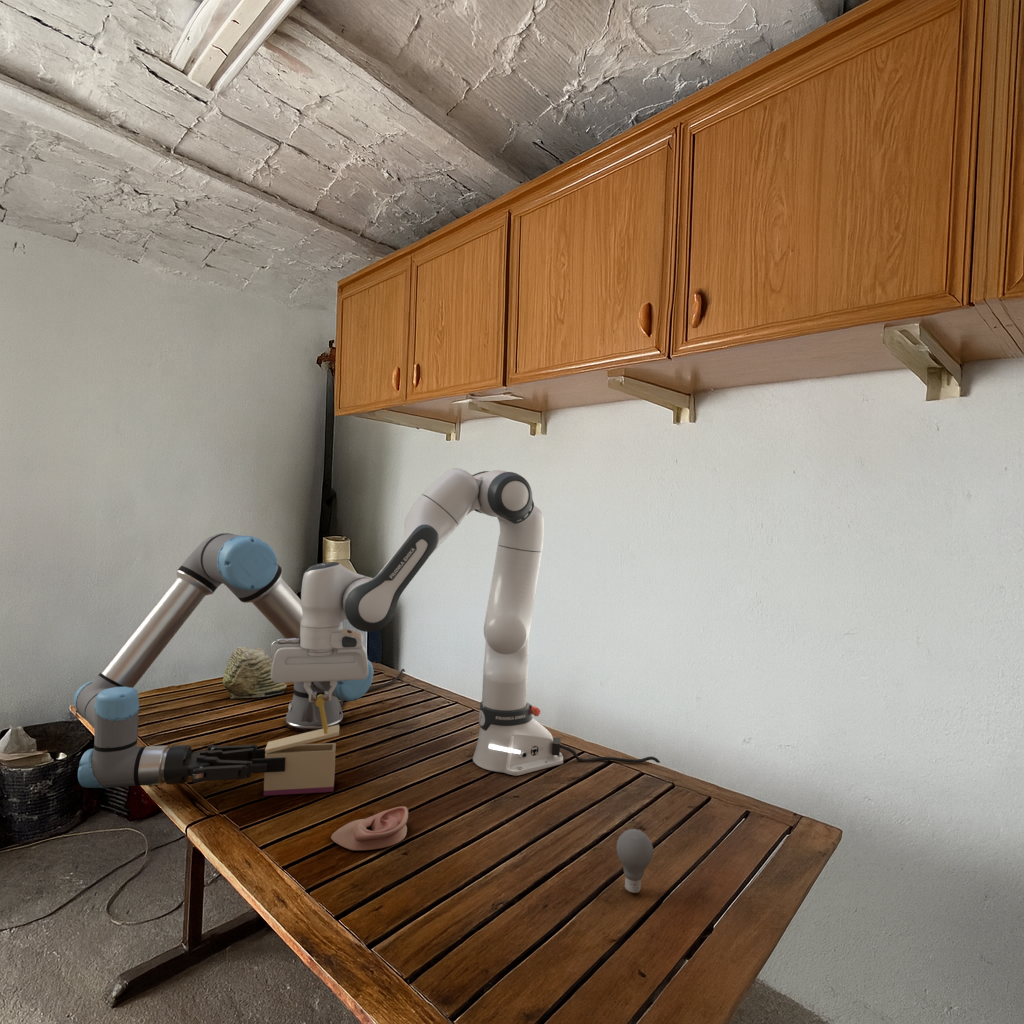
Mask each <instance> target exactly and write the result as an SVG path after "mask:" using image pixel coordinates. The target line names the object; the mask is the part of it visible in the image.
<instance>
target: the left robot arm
mask: <svg viewBox="0 0 1024 1024" xmlns="http://www.w3.org/2000/svg"><path fill="white" fill-rule="evenodd" d="M282 576H283V567H281V566H280V565H279V564H278V558H277V554H276V552H275V550H274V549H273V547H272V546H271V545H270V544H268V543H267V542H265V541H264V540H262V539H260V538H258V537H255V536H251V535H241V534H234V533H229V532H221V533H216V534H214V535H211V536H209V537H207V538H205V539H204V540H203V541H202V542H201V543H199V545H198V546H197V547H195V549H194V550H193V551H192V552H191V553H190V554H189V555H188V556H187V558H186V559H185V560H184V561H183V563H182V564H181V565H180V566H179V567H178V569H177V570H176V579H175V580H174V581H173V582H172V583H171V585H170V586H169V587H168V589H167V590H166V591H165V592H164V593H163V595H162V596H161V597H160V598H159V600H158V601H157V602H156V603H155V604H154V606H153V607H151V610H150V611H149V612H148V613H147V614H146V616H145V617H144V618H143V619H142V620H141V621H140V623H139V624H138V625H137V626H136V628H135V629H134V631H132V633H131V634H130V635H129V636H128V637H127V639H126V640H125V641H124V642H123V644H122V645H121V647H120V648H119V649H117V651H116V652H115V654H114V655H113V656H112V658H111V659H110V660H109V661H108V663H107V664H105V666H104V667H103V669H102V670H101V671H100V672H99V673H98V674H97V676H96V677H95V678H94V679H93V680H90V681H87V682H86V683H84V684H83V685H81V686H80V687H79V688H78V689H77V690H76V691H75V692H74V695H73V706H74V708H75V710H76V712H77V713H78V715H79V716H80V717H81V718H82V719H84V720H85V721H87V722H88V723H89V724H90V725H91V726H92V728H94V732H93V733H94V739H93V740H94V742H93V748H89V749H87V750H86V751H84V753H83V754H82V756H81V758H80V760H79V763H78V764H79V765H78V769H77V780H78V783H79V785H80V786H81V787H82V788H86V789H103V790H104V789H109V788H123V787H136V786H138V787H141V786H148V787H149V788H153V787H154V786H160V785H164V784H166V785H183V784H185V783H187V781H188V779H189V777H192V783H193V784H197V783H201V782H202V783H203V782H212V781H213V782H215V781H228V780H245V779H246V780H247V779H250V778H251V776H252V774H261V773H262V774H263V773H265V772H284V771H285V757H283V758H265V749H266V748H258V745H257V743H256V744H240V745H239V744H237V745H213V744H211V745H207V749H205V750H200V751H195V752H193V749H192V746H191V745H190V744H176V745H171V746H168V745H167V744H166V745H149V746H138V734H139V732H138V730H139V712H140V700H139V699H140V698H139V691H138V690H137V688H134V687H135V686H136V685H137V684H138V682H140V680H141V678H142V677H143V676H144V675H145V673H146V672H147V671H148V670H149V668H151V666H152V665H153V663H154V662H155V661H156V660H157V658H158V657H160V656H159V655H160V654H161V653H162V652H163V651H164V649H165V648H167V645H168V644H169V643H170V642H171V640H173V638H174V637H175V636H176V634H177V633H178V632H179V630H180V629H181V628H182V626H183V625H184V624H185V623H186V621H187V620H188V619H189V617H190V616H191V615H192V614H193V612H194V611H195V610H196V609H197V607H198V606H199V605H200V603H201V602H202V601H203V600H204V598H205V597H206V596H209V595H213V594H214V593H215V592H216V590H217V589H218V588H219V587H220V586H221V585H224V586H226V588H228V590H229V591H230V592H231V593H232V594H233V595H234V596H235V597H236V598H237V599H238V600H239V601H240V602H241V603H245V604H246V603H247V604H248V603H251V604H252V605H253V606H254V607H255V608H256V609H257V610H258V611H259V612H260V613H261V614H262V615H263V616H264V617H265V618H266V619H267V620H268V621H269V622H270V624H271V625H272V626H273V627H274V628H275V629H276V631H278V632H279V633H280V634H281V635H282V636H283V638H285V639H289V638H300V624H301V620H302V615H303V611H302V607H301V597H299V595H297V594H296V593H295V591H294V590H293V589H292V588H291V587H290V586H289V585H288V584H287V582H286V581H285V580H284V579H283V577H282ZM403 673H406V670H405V668H401V669H400V672H399V674H398V675H397V676H396V677H395V678H393V679H391V680H390V681H388V682H386V683H383V684H380V685H377V686H373V687H371V686H372V683H373V681H374V679H373V678H374V667H373V664H372V662H371V661H370V660H369V659H368V676H367V678H366V679H364V680H343V681H337V686H336V688H335V689H334V691H333V692H332V699H331V701H325V702H324V709H325V714H326V719H327V725H328V727H331V726H335V725H339V726H340V725H342V723H343V722H344V714H343V709H342V706H343V703H344V701H345V702H353V701H354V702H355V701H357V700H359V699H361V698H362V697H363V696H364V695H365V694H366V693H367V692H370V691H373V690H377V689H380V688H383V687H385V686H388V685H390V684H393V683H394V682H396V681H397V680H399V678H400V677H401V676H402V675H403ZM310 688H311V690H312V691H313V692H316V698H317V696H318V695H320V694H323V695H324V693H325V691H329V689H330V688H331V686H330V681H317V682H311V685H310ZM292 696H293V697H292V699H291V701H290V702H289V703H288V707H287V708H288V711H287V713H286V715H285V726H286V728H287V729H289V730H291V731H294V732H295V731H296V732H301V733H307V732H311V731H315V730H319V729H323V725H322V720H321V715H320V709H319V707H318V706H316V702H309V694H308V693H307V691H306V690H305V688H304V682H293V695H292Z"/></svg>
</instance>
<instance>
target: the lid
mask: <svg viewBox="0 0 1024 1024" xmlns="http://www.w3.org/2000/svg"><path fill="white" fill-rule="evenodd" d="M324 698H325V697H324V695H323V694H320V695H318V696H317V698H316V706H318V707H319V709H320V715H321V720H322V725H323V729H319V730H315V731H311V732H302V733H299V734H295V735H291V736H287V737H283V738H279V739H275V740H274V739H273V740H270V741H268V742H267V744H266V746H265V748H264V749H265V753H271V752H275V751H279V750H283V749H287V748H291V747H295V746H299V745H303V744H312V743H315V742H318V741H322V740H326V739H330V738H331V739H332V738H335V737H339V736H340V725H335V726H331V727H328V725H327V719H326V714H325V709H324V702H325V701H324Z"/></svg>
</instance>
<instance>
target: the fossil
mask: <svg viewBox="0 0 1024 1024" xmlns="http://www.w3.org/2000/svg"><path fill="white" fill-rule="evenodd" d="M272 663H273V658H272V657H270V656H269V655H268V654H267V653H266V652H265V650H264V649H263V648H260V647H258V648H251V647H247V646H246V647H245V646H238V647H237V648H236V649H235V650H233V651H232V653H231V656H230V657H229V659H228V660H227V663H226V666H225V668H224V671H223V675H222V676H223V677H222V685H223V687H224V688H225V690H226V691H228V693H229V698H230V699H250V698H264V697H271V696H275V695H281V694H284V693H285V691H286V689H287V687H288V686H287V683H274V682H273V681H272V680H271V670H272Z"/></svg>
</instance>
